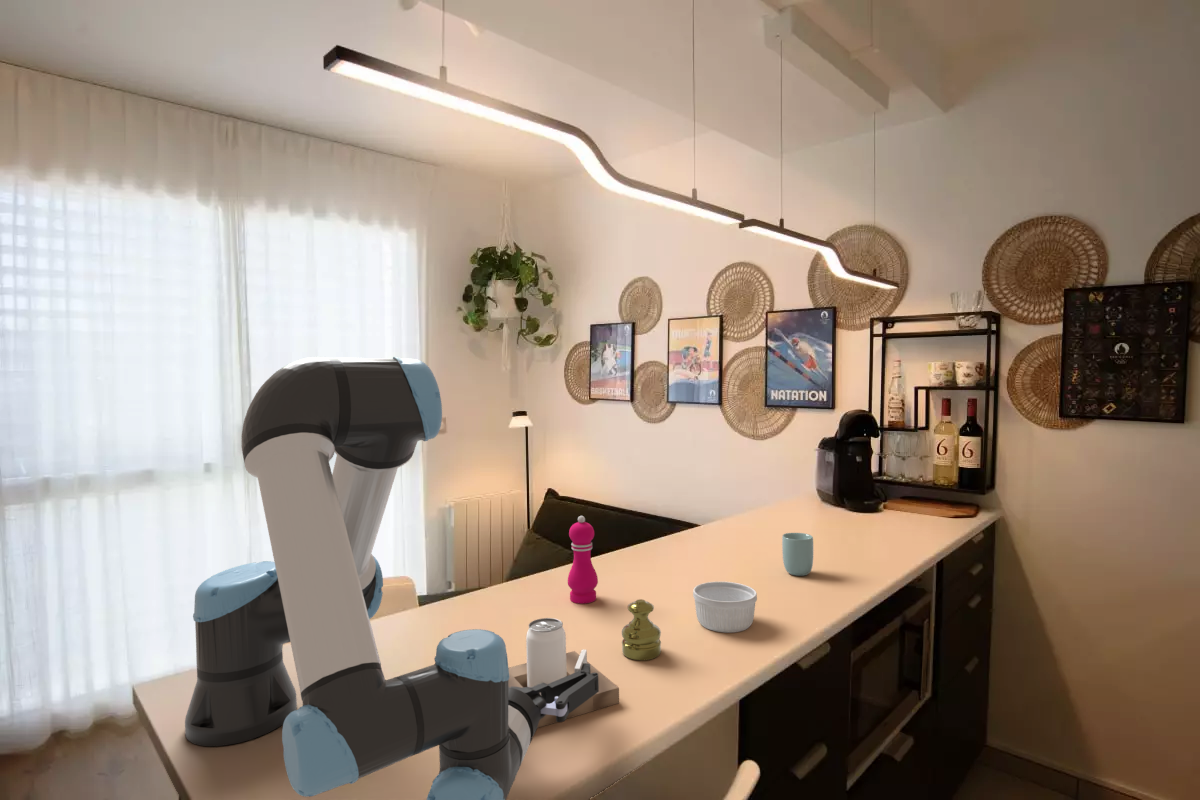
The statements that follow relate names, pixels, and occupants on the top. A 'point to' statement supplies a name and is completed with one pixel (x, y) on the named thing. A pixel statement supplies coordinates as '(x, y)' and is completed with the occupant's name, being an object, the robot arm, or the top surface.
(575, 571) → the pepper mill
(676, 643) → the top surface
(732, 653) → the top surface
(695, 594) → the ramekin
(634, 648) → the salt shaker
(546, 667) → the can
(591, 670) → the frame
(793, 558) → the cup
